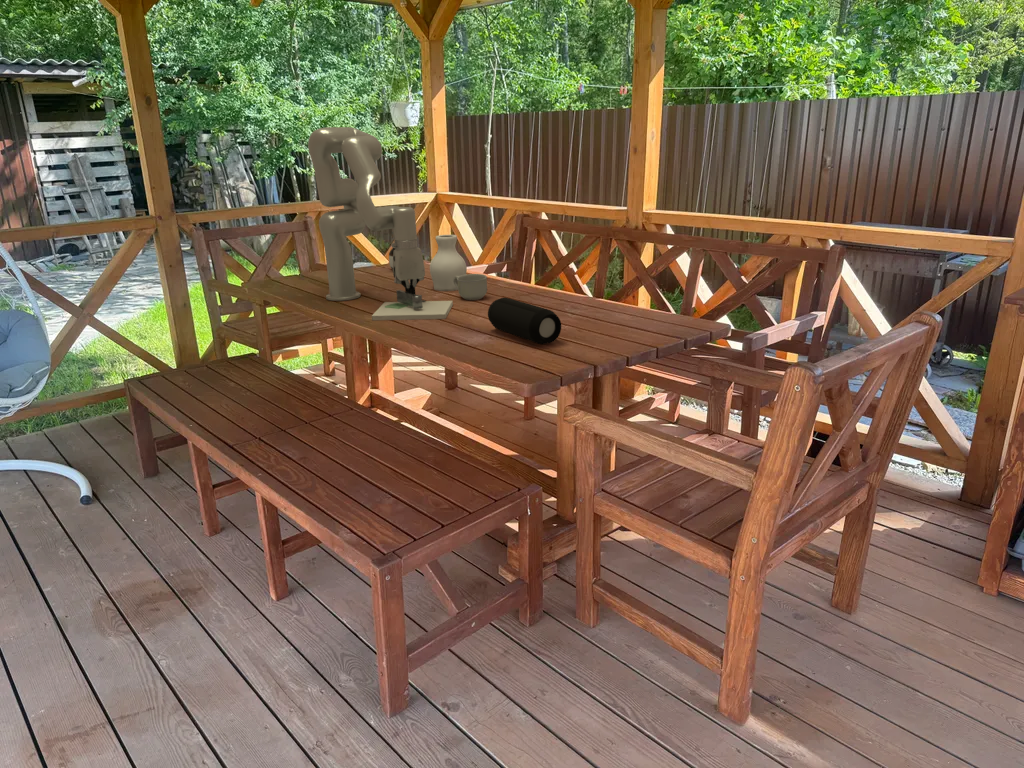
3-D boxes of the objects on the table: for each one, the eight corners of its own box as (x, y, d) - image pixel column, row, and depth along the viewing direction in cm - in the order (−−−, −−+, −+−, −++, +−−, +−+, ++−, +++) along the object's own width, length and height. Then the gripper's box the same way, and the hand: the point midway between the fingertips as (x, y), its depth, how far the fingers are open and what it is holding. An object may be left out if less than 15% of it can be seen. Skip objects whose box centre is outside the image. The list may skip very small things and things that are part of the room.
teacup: (493, 298, 263) (492, 276, 260) (470, 303, 256) (469, 280, 254) (470, 292, 273) (468, 271, 270) (446, 297, 266) (445, 275, 264)
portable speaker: (564, 343, 205) (563, 308, 202) (535, 349, 200) (535, 314, 197) (512, 325, 225) (511, 293, 222) (485, 331, 220) (484, 298, 217)
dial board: (384, 306, 256) (384, 301, 255) (452, 304, 254) (452, 299, 254) (372, 320, 237) (371, 314, 236) (445, 318, 236) (445, 313, 235)
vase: (466, 291, 276) (463, 237, 270) (428, 292, 276) (424, 239, 270) (469, 283, 290) (466, 232, 283) (433, 284, 290) (429, 233, 283)
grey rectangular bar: (394, 302, 251) (393, 290, 250) (402, 300, 253) (402, 289, 251) (416, 309, 240) (415, 297, 238) (424, 307, 242) (423, 295, 240)
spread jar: (406, 267, 330) (404, 241, 326) (420, 270, 322) (418, 243, 318) (383, 271, 323) (381, 244, 319) (397, 274, 314) (395, 247, 311)
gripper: (390, 248, 238) (395, 303, 244) (431, 243, 245) (435, 297, 251) (381, 246, 244) (386, 300, 250) (421, 241, 251) (425, 294, 257)
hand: (410, 298), depth 250 cm, fingers closed
